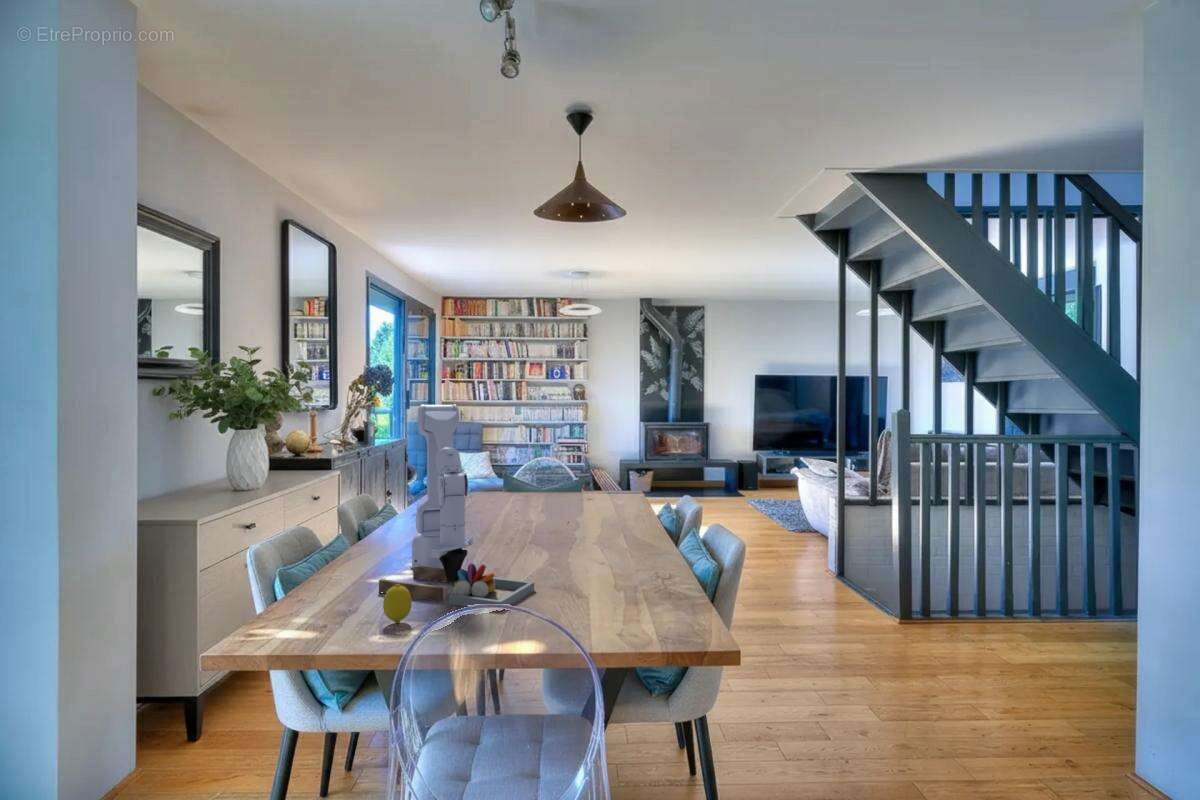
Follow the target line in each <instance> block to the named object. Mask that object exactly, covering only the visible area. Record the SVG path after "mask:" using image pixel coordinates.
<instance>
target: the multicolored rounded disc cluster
mask: <svg viewBox="0 0 1200 800" xmlns="http://www.w3.org/2000/svg"><path fill="white" fill-rule="evenodd" d="M467 566H468V567H467V570H466V569H465V568H461V569H460V570H458V576H459V578H460V580H457V581H456V582H455V583H453V588H454V589H453V590H454V591H453V592H454V594H455V595H463V596H471V594H472V597H478V598H485V597H487V595H488V594H489V593H492V592H494V591H495V589H496V587H495V580H494V578H495V573H493V572H490V573H488V574H484V573H485V571H486V568H487V567H486V565H485V564H481V565H480V566H479V567H478V569H477V567H476V564H474V563H473V562H472V563H468V565H467ZM493 577H494V578H493Z"/></svg>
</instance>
